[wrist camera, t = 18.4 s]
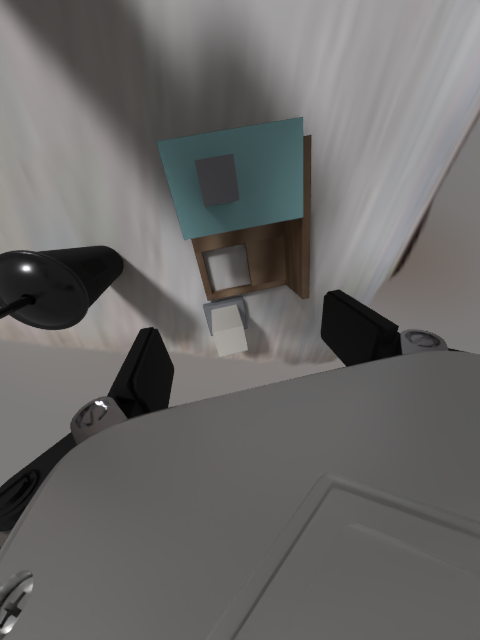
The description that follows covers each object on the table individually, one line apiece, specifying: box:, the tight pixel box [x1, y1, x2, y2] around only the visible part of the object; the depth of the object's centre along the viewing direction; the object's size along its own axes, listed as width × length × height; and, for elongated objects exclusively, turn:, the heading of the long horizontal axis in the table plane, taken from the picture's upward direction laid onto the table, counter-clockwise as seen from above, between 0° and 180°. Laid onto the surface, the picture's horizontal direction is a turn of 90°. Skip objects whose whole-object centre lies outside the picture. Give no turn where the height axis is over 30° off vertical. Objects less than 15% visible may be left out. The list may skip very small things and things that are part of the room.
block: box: [211, 305, 248, 357], centre depth 32 cm, size 4×4×8 cm
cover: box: [156, 117, 303, 240], centre depth 18 cm, size 14×8×6 cm, turn 99°
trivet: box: [203, 296, 248, 336], centre depth 36 cm, size 7×6×2 cm
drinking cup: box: [0, 246, 123, 330], centre depth 21 cm, size 8×8×20 cm
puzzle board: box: [191, 135, 311, 301], centre depth 27 cm, size 15×18×8 cm
